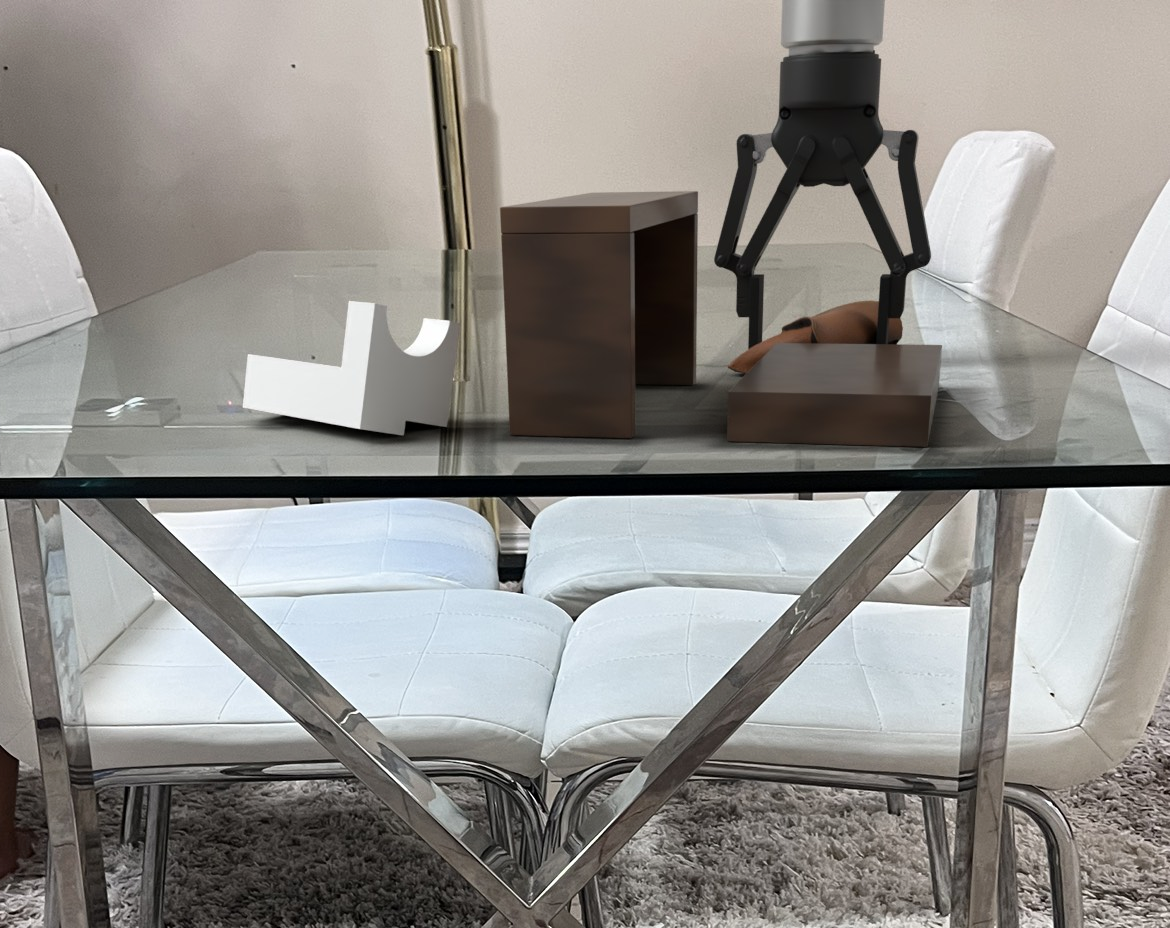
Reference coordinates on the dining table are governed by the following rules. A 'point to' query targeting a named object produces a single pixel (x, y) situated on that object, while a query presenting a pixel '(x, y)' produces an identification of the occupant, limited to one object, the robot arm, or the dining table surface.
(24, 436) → the dining table surface
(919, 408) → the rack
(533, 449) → the dining table surface
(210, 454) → the dining table surface
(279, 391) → the bracket
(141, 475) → the dining table surface
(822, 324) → the sunglasses case
